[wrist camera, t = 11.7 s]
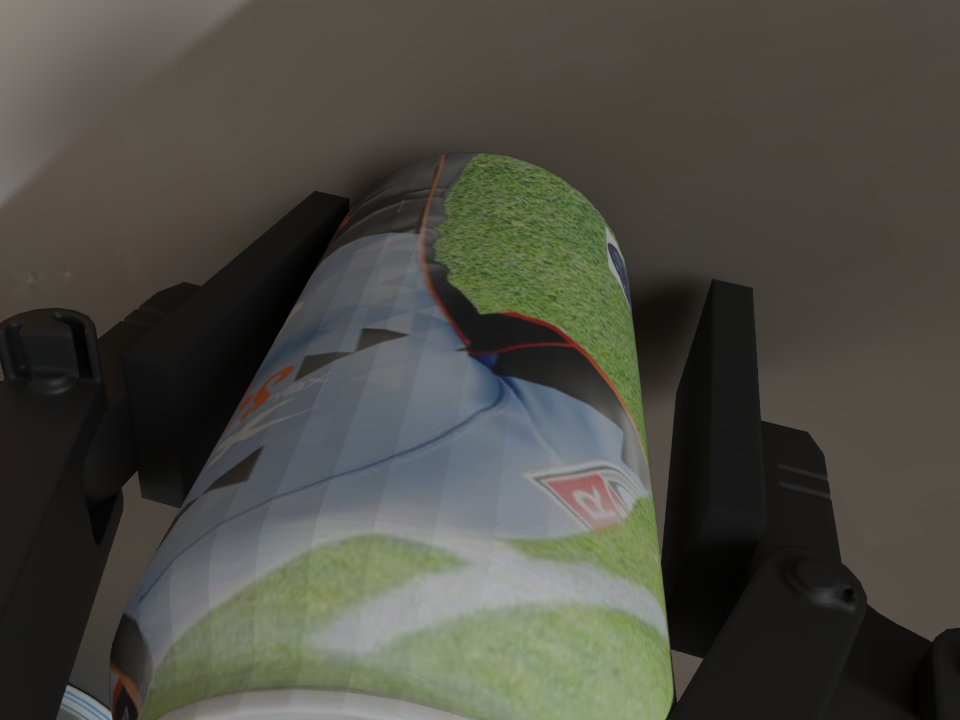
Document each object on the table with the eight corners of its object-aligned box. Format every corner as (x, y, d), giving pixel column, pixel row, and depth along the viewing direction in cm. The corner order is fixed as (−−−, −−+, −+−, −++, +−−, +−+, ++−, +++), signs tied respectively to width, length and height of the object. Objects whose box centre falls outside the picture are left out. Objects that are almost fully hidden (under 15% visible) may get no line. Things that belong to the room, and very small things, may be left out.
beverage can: (349, 116, 16) (-231, 536, 6) (729, 159, 15) (741, 776, 5) (363, 379, 20) (-2, 919, 10) (674, 434, 18) (616, 1127, 8)
